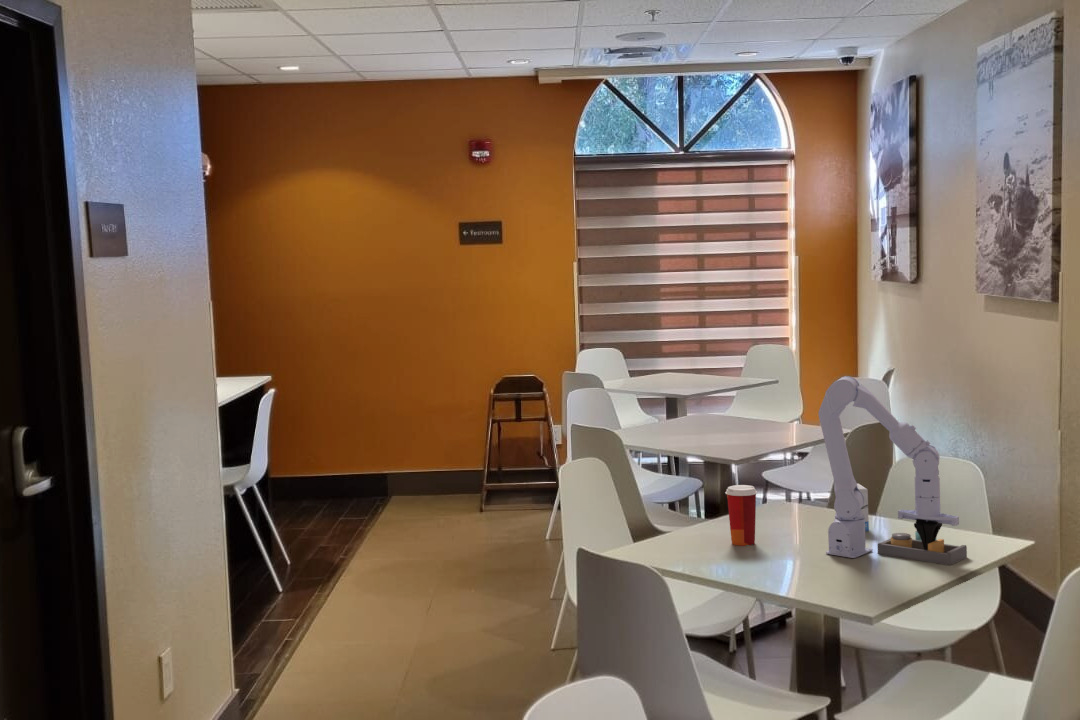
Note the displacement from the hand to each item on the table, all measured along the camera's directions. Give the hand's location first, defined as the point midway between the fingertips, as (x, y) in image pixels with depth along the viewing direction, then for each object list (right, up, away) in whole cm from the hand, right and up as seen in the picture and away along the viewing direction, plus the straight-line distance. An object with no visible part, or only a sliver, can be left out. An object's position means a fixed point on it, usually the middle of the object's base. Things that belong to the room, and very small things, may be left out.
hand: (928, 550), depth 247 cm
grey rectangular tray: (-1, -1, +2) cm, 2 cm away
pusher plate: (+1, -1, -1) cm, 2 cm away
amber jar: (-5, -1, +5) cm, 7 cm away
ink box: (-8, 0, +33) cm, 34 cm away
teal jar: (+3, -1, +10) cm, 10 cm away
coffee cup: (-41, -2, +22) cm, 47 cm away
